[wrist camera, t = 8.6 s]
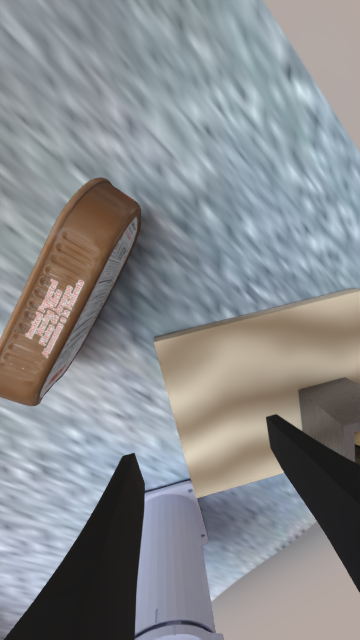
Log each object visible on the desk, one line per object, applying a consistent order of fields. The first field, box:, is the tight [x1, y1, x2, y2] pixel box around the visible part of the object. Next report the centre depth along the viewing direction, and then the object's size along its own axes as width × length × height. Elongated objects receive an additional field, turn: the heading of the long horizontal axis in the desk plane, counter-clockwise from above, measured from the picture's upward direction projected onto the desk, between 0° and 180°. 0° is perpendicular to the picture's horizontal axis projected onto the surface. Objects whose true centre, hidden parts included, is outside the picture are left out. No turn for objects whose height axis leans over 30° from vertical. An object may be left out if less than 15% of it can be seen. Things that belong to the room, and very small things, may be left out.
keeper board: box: [154, 289, 360, 498], centre depth 18 cm, size 18×20×6 cm
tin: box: [0, 178, 141, 406], centre depth 13 cm, size 15×3×8 cm, turn 150°
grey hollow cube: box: [298, 377, 360, 465], centre depth 18 cm, size 5×5×5 cm
